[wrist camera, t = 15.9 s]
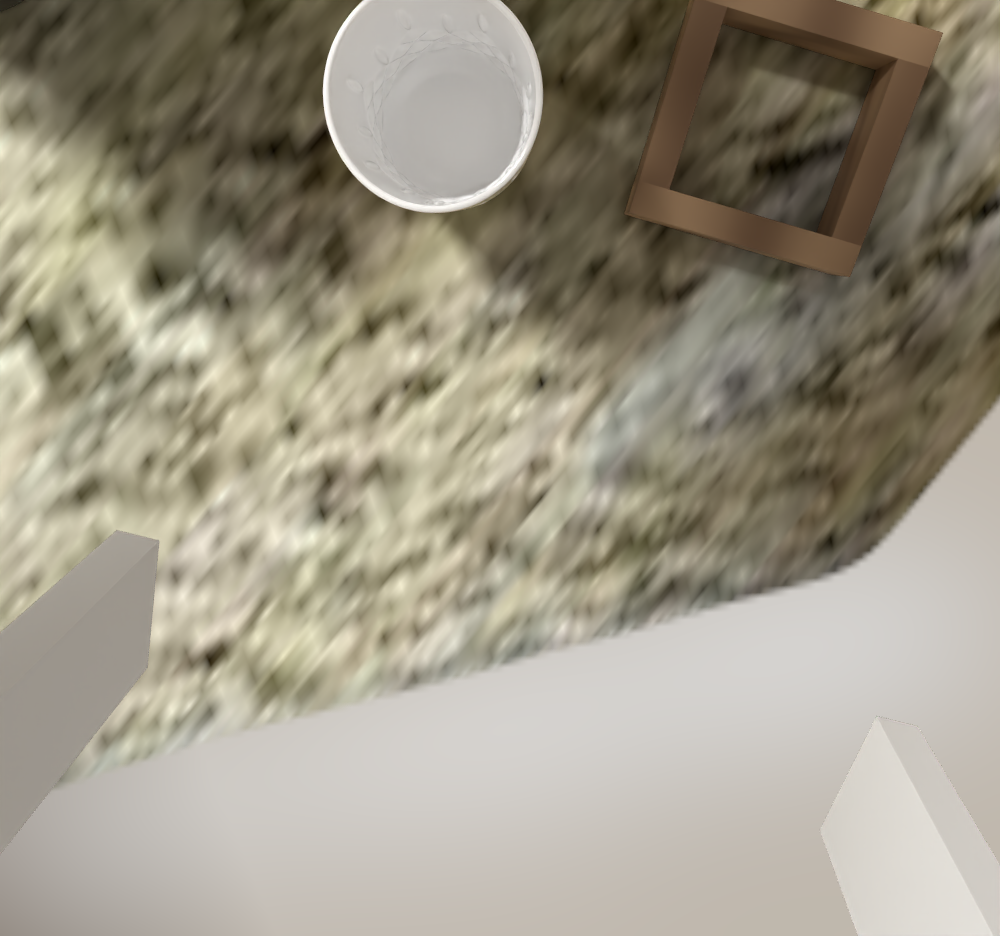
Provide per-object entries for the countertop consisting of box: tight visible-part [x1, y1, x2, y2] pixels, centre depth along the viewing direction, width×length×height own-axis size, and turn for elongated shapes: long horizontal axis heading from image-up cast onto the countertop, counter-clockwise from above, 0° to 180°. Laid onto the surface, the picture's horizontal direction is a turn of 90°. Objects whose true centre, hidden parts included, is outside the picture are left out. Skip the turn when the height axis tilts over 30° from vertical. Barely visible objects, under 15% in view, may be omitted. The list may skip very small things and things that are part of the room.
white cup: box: [323, 0, 543, 213], centre depth 35 cm, size 8×8×10 cm
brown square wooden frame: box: [624, 0, 943, 277], centre depth 38 cm, size 10×10×2 cm
